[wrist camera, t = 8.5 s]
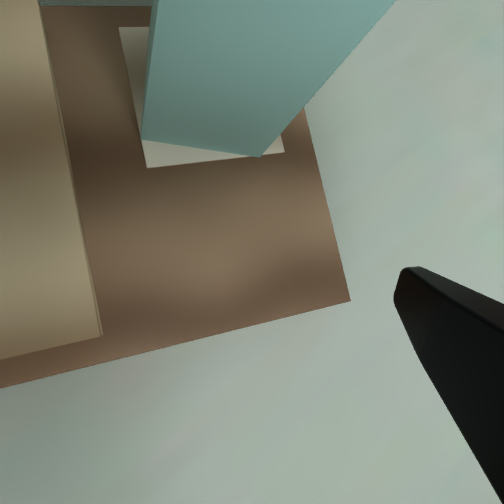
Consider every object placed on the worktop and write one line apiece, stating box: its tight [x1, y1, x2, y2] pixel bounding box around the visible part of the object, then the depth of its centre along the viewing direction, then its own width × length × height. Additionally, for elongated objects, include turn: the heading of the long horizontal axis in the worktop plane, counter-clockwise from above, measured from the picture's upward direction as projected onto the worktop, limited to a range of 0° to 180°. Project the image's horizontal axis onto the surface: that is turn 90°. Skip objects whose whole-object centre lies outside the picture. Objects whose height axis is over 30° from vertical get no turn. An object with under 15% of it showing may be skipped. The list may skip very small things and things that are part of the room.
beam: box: [0, 0, 103, 360], centre depth 14 cm, size 12×4×3 cm, turn 13°
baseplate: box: [0, 6, 351, 388], centre depth 19 cm, size 14×14×3 cm
